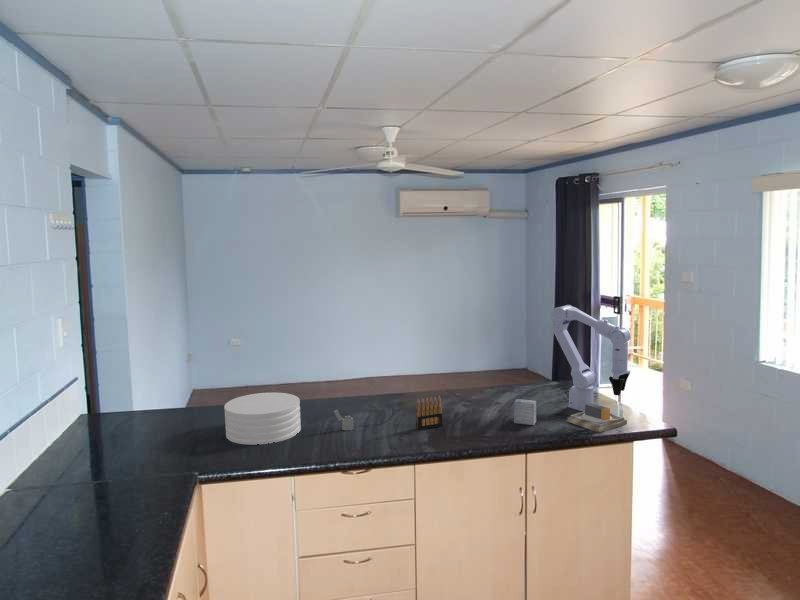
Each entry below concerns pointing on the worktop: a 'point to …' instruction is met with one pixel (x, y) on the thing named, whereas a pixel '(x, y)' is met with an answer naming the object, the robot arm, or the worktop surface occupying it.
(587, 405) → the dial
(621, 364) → the robot arm
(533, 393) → the worktop surface
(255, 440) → the plate stack
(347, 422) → the lighter
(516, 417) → the medicine box
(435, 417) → the ammunition clip
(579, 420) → the square tray
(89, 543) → the worktop surface
